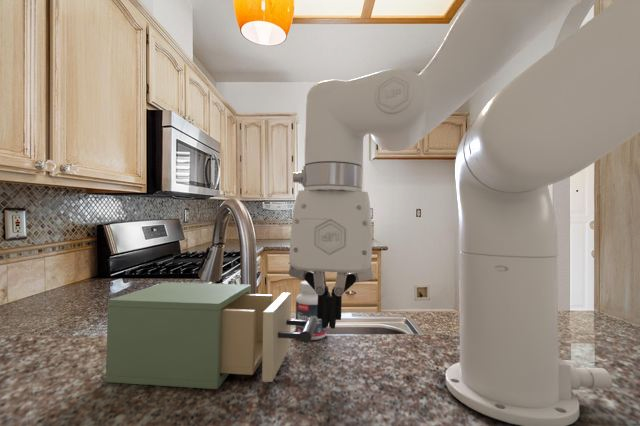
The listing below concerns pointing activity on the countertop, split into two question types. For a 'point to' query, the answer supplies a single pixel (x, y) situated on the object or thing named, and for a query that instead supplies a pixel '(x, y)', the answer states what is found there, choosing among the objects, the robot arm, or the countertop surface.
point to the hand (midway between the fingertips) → (329, 324)
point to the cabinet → (169, 334)
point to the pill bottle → (308, 310)
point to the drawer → (259, 334)
